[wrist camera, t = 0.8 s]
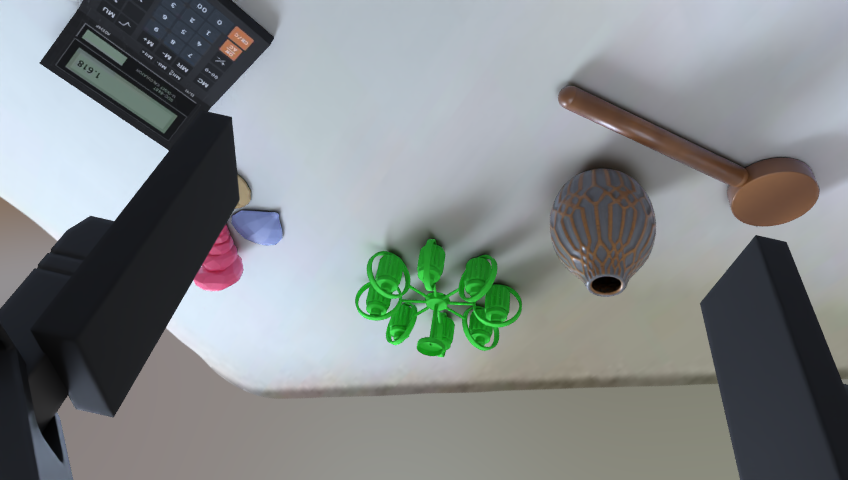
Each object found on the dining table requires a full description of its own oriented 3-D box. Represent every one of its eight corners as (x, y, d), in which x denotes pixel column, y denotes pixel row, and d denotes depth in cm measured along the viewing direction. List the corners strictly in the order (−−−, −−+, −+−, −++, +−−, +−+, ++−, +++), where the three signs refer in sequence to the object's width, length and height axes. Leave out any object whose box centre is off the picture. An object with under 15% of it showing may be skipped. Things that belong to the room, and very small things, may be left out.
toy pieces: (305, 260, 54) (291, 299, 51) (198, 261, 56) (179, 298, 53) (253, 162, 45) (233, 202, 42) (129, 169, 48) (102, 207, 45)
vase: (643, 143, 39) (660, 243, 33) (654, 213, 43) (670, 311, 38) (540, 163, 41) (539, 259, 35) (560, 227, 46) (562, 321, 40)
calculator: (274, 37, 36) (259, 64, 34) (187, 129, 43) (171, 156, 41) (134, -83, 32) (107, -60, 30) (62, 41, 39) (37, 66, 37)
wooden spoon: (537, 116, 38) (537, 129, 37) (584, 53, 34) (585, 66, 33) (767, 221, 42) (772, 236, 41) (832, 176, 38) (839, 190, 38)
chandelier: (521, 332, 58) (518, 396, 53) (374, 323, 60) (361, 384, 56) (523, 231, 47) (521, 302, 42) (344, 226, 49) (323, 292, 45)
